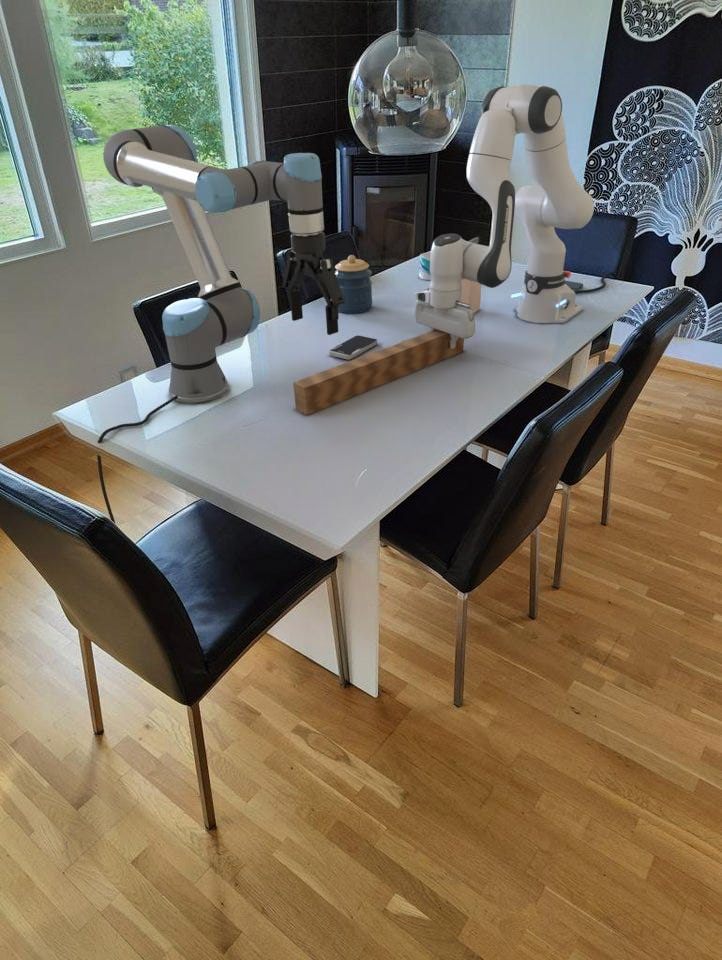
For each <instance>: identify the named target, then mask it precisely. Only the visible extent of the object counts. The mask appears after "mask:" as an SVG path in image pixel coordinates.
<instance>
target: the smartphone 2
mask: <svg viewBox="0 0 722 960" xmlns="http://www.w3.org/2000/svg"><path fill="white" fill-rule="evenodd" d="M565 284H566V285H567V286H568V287H570V288H571V289H572V290H573V291H579V290H582V288H584V283H583V282H576V281H572V280H571V281H570V280H565Z"/></svg>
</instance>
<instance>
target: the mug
mask: <svg viewBox="0 0 722 960" xmlns="http://www.w3.org/2000/svg"><path fill="white" fill-rule="evenodd" d="M430 255H431V251H429V252H428V251H427V252H423V253H420V255H419V265H418V266H419V267H418V268H419V270H418V271H419V272H418V274H419V276H418V278H419V279H421V280H426V281H431V274H430Z"/></svg>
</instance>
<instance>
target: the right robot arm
mask: <svg viewBox="0 0 722 960" xmlns="http://www.w3.org/2000/svg"><path fill="white" fill-rule="evenodd" d="M562 112H563V100H562V97H561V95H560V94H559V92H558V91H557V90H556V89H555V88H553V87H550V86H547V85H542V86H539V85H533V84H532V85H531V84H522V85H521V84H520V85H512V86H511V85H510V86H505V85H502V86H498V87H495V88H492V89H491V90H489V91H488V92H487V94H486V96H484V98H483V101H482V104H481V107H480V118H479V120H478V122H477V125H476V127H475V130H474V133H473V137H472V141H471V144H470V148H469V153H468V157H467V162H466V172H465V173H466V181H467V182H468V184H469V185H470V187H471V188H472V189H473V191H474V192H475V193H476V194H478V195H479V196H480V197H481V198H483V199H484V200H485V201H486V202H487V203H488V205H489V206H490V209H491V213H492V216H491V217H492V219H491V230H490V242H489V245H484V244H479V243H472V242H468V241H469V240H468V241H467V240H465V239H463V238H462V236H461V235H460V234H457V233H445V234H441V235H439V236H437V237H436V238H435V239H434V240H433V242H432V244H431V249H430V252H431V255H430V274H431V280H430V282H429V288H425V289H422V290H419V291H416V292H415V299H416V301H415V303H414V319H415V322H416V323H417V324H420V325H423V326H425V327H427V328H428V331H429V332H431V331H434V330H436V329H437V330H440V331H443V332H446V333H449V334H451V338H452V339H451V341H449V342H448V348H451V349H453V348H455V346H456V341H457V340H458V338H459V337H461V338H464V340H468V339H470V338H472V337H474V336H475V334H476V318H475V313H474V309H473V308H472V307H471V305H470V304H466V303H463V302H461V296H462V283H461V280H462V279H466V280H470V281H473V282H477V283H480V284H481V286H485V287H487V288H490V289H494V288H497V287H498V286H500V285H502V284H503V283H504V282H505V281H507V279H508V278H509V277H510V275H511V272H512V267H513V266H512V265H513V264H512V243H513V241H512V240H513V231H514V219H515V217H516V218H517V219H518V220H519V222H520V224H521V226H522V227H523V230H524V233H525V237H526V242H527V262H526V263H527V265H526V271H524V272H525V273H524V277H523V278H524V279H523V280H524V281H523V283H524V285H522V286H521V289H520V292H519V293H518V292H517V293H514V294H511V297H510V298H511V299H512V298H516V297H519V300H518V305H517V306H515V312H516V313H517V314H516V316H517V317H518V318H519V319H521V320H523V321H525V322H529V323H535V324H536V323H537V324H552V323H555V324H564V323H566V322H567V321H569V320H570V319H572V318H573V317H575V316H577V315H578V314H579V313H581V312H582V311H583V308H582V306H581V305H578V304H576V295H578V294H587V293H594V292H597V291H599V290H603V289H604V288H605V287H606V285H607V282H606V281H605V279H606V278H607V277H609V276H612V277H615V276H616V273H615V272H614V271H609V272H607V273H606V274H604V275H603V276H602V277H601V279H600V282H601V283H602V285H600V286H598V287H595V288H590V289H580V290H579V291H573V290H572V289H571V288H570V287H568V286H567V285H566V284H565V281H566V278H567V279H569V278H570V277H571V275H572V273H571V271H569V270H564V268H565V259H566V253H567V249H566V245H565V242H563V241H562V240H561V238H559V236H558V235H557V233H556V230H555V228H557V229H562V230H576V229H583V228H584V227H585V226H587V225H588V223H589V222H590V221H591V219H592V217H593V215H594V211H595V203H594V199H593V197H592V195H591V194H590V193H589V192H587V191H586V190H585V189H584V188H583V187H582V185H581V184H580V183H579V181H578V180H577V178H576V177H575V175H574V173H573V171H572V168H571V165H570V160H569V155H568V147H567V146H568V145H567V138H566V129H565V123H564V118H563V113H562ZM519 134H523V143H524V151H525V159H526V166H527V167H526V168H527V172H528V175H529V176H530V178H531V179H532V180H533V181H534V182H536V184H528V185H524V186H522V187H520V188H519V189H518V190H517V191H516V189H515V186H514V184H513V183H512V181H511V180H512V179H511V164H512V160H513V159H512V158H513V155H514V154H513V153H514V147H515V141H516V139H515V138H516V136H517V135H519Z"/></svg>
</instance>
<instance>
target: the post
mask: <svg viewBox="0 0 722 960" xmlns="http://www.w3.org/2000/svg"><path fill="white" fill-rule="evenodd" d="M451 339H452V338H451V334H449V333H446V332H443V331H440V330H437V329H436V330H434V331H431V332H430V331H429V332H426V333H423V334H420V335H417V336H415V337H412V338H409V339H406V340H403V341H401V342H399V343H396V344H393V345H390V346H388V347H385V348H382V349H380V350H376V351H374V352H371V353H369V354H366V355H363V356H360V357H358V358H355V359H353V360H349V361H347V362H345V363H341V364H340V365H337V366H334V367H331V368H329V369H328V368H327V369H326V370H323V371H320V372H317V373H314V374H312V375H310V376H306V377H304V378H302V379H299V380H296V381H293V383H292V384H293V394H294V395H293V396H294V405H295V410H297V411H298V412H300V413H302V414H304V415H306V416H308V415H311V414H313V413H316V412H319V411H321V410H323V409H326V408H328V407H331V406H333V405H336V404H338V403H340V402H343V401H345V400H348V399H351V398H353V397H355V396H358V395H360V394H363V393H364V392H367V391H370V390H372V389H375V388H378V387H379V386H382V385H384V384H387V383H390V382H392V381H394V380H397V379H399V378H402V377H404V376H406V375H410V374H411V373H413V372H416V371H419V370H422V369H424V368H426V367H428V366H431V365H434V364H436V363H438V362H441V361H444V360H445V359H448V358H451V357H453V356H456V355H458V354H461V353H463V352H464V348H465V347H464V344H465V339H464V338H461V337H459V338H458V340H457V341H456V346H455V348H453V349H451V348H448V342H449V341H451Z"/></svg>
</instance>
